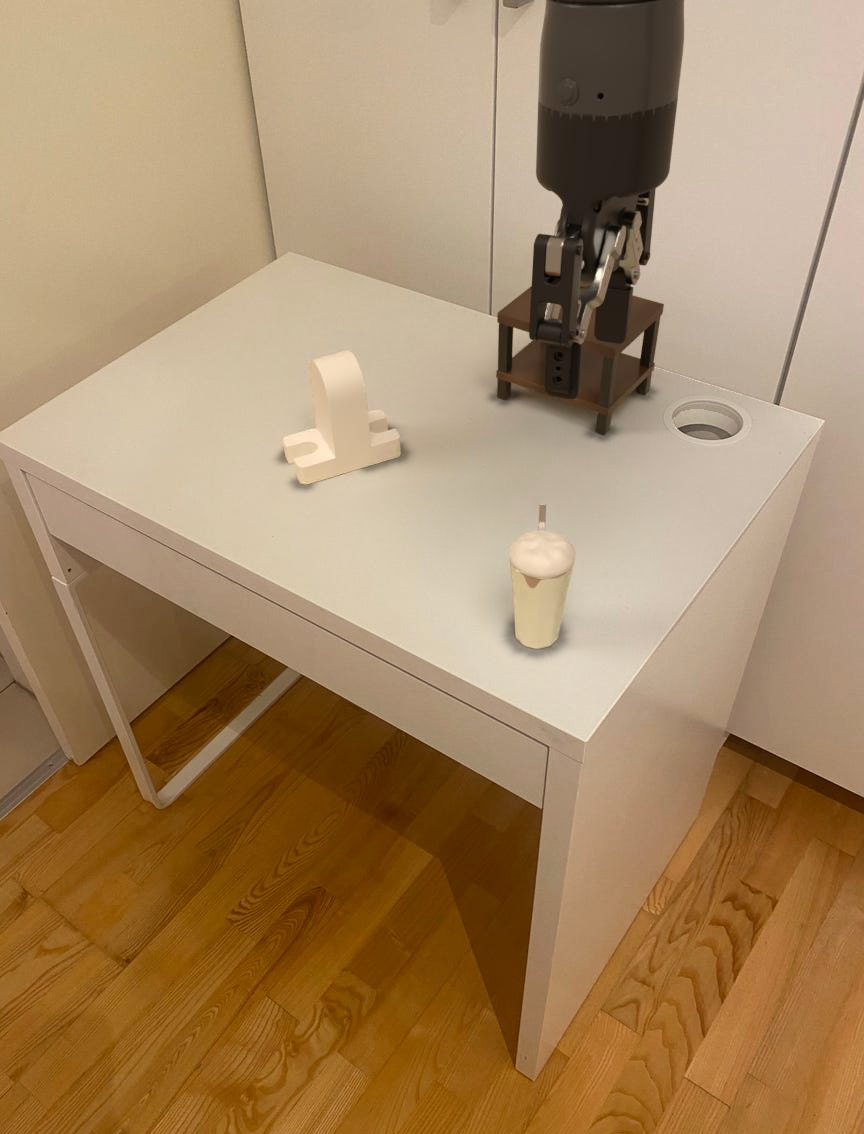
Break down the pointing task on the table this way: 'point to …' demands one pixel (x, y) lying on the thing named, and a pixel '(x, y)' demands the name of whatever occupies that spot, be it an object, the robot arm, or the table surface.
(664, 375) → the table surface
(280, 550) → the table surface
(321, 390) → the cream mounting bracket
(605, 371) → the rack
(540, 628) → the milkshake
